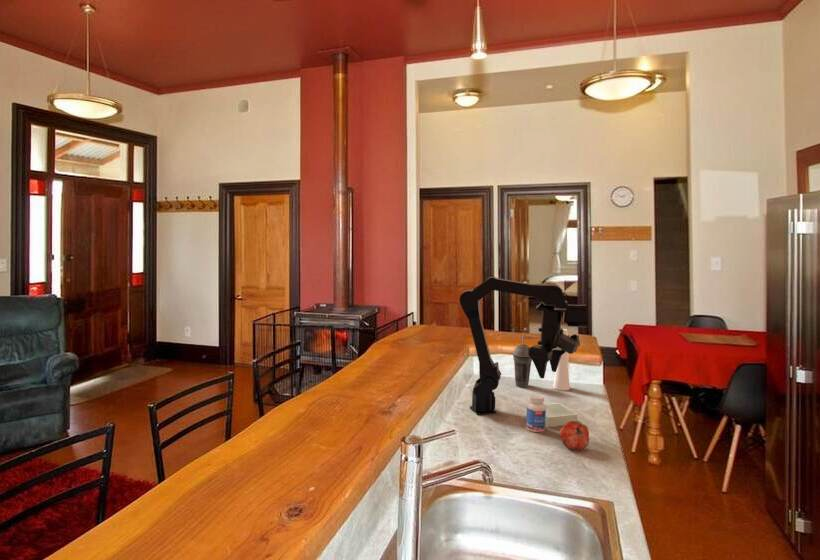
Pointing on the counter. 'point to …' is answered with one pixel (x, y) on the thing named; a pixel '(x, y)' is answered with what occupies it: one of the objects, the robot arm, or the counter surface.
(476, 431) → the counter surface
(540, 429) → the pill bottle
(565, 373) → the cosmetic bottle
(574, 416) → the plinth
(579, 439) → the pomegranate
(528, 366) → the beverage cup
